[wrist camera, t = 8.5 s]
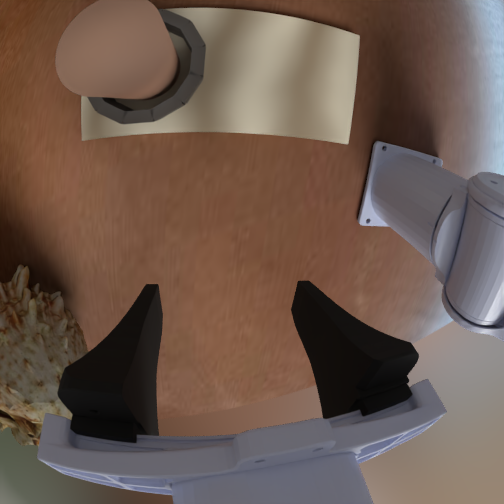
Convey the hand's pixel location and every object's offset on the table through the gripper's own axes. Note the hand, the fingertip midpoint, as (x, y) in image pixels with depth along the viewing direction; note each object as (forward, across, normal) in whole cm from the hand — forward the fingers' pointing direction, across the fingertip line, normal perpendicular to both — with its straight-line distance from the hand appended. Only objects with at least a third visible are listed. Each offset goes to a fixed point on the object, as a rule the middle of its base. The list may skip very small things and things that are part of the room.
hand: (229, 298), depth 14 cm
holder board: (+10, 0, -12) cm, 15 cm away
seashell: (+10, +20, +10) cm, 25 cm away
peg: (+8, +5, -12) cm, 15 cm away
